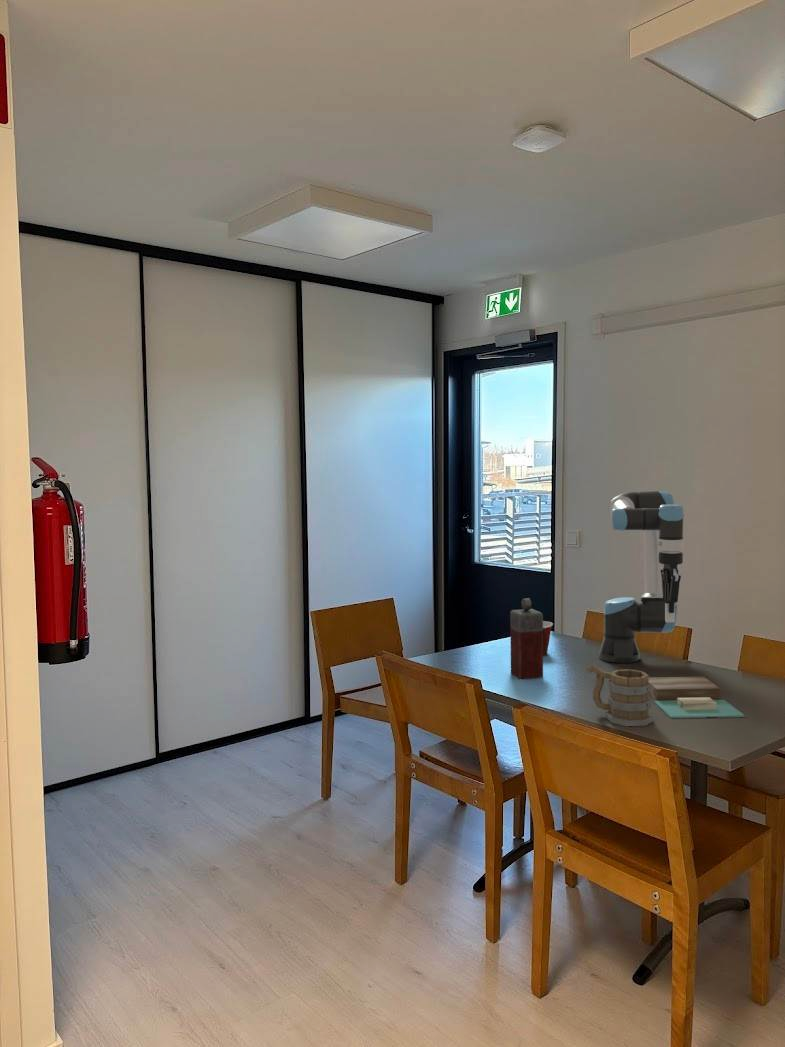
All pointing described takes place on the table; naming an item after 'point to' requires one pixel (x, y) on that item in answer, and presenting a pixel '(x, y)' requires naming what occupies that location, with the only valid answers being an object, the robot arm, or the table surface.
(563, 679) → the table surface
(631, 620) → the robot arm
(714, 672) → the table surface
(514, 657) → the toy vending machine
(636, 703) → the tankard
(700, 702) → the tile
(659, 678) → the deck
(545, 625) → the plastic cup
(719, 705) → the mat
